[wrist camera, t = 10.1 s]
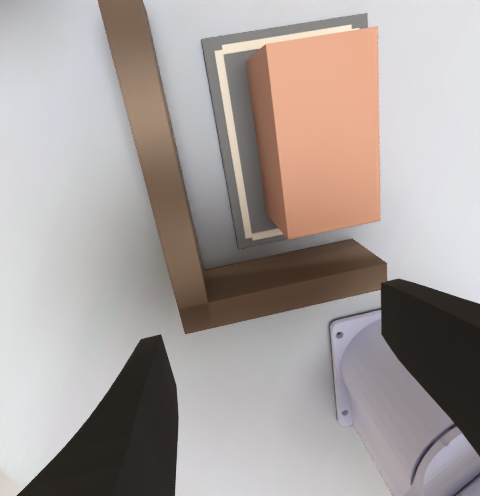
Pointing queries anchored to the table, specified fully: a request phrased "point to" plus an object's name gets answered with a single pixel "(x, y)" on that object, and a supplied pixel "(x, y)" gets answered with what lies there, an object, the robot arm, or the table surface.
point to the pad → (250, 118)
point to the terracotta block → (318, 130)
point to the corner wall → (180, 220)
